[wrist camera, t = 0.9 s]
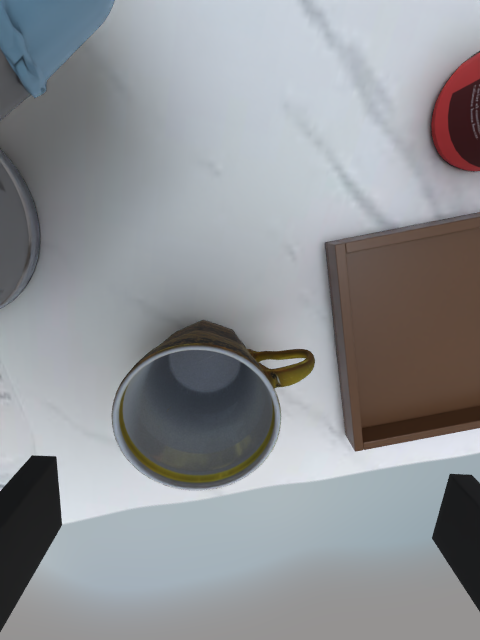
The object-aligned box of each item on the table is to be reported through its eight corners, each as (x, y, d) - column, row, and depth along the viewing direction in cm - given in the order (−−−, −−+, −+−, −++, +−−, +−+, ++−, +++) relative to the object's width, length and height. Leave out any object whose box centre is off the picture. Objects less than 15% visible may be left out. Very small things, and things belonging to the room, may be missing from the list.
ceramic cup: (181, 422, 31) (162, 513, 21) (126, 330, 28) (77, 388, 19) (309, 367, 30) (350, 436, 20) (266, 266, 27) (291, 292, 18)
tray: (345, 434, 32) (355, 451, 30) (324, 242, 27) (334, 244, 24) (544, 396, 32) (570, 411, 30) (565, 195, 27) (598, 193, 24)
